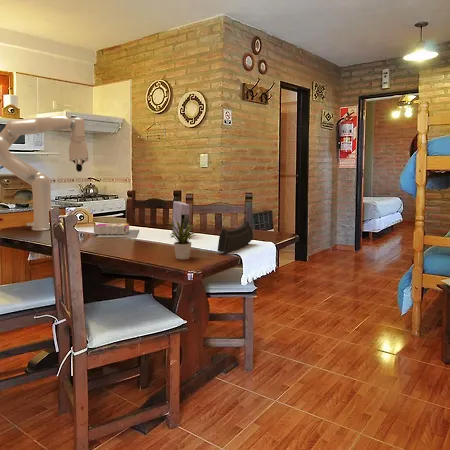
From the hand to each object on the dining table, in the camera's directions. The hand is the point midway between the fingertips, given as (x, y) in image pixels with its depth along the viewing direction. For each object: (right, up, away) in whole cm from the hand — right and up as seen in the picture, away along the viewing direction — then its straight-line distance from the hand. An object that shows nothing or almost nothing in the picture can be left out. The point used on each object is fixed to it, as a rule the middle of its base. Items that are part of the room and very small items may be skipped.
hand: (79, 171), depth 261 cm
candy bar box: (+16, -33, -22) cm, 43 cm away
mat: (+28, -36, -20) cm, 50 cm away
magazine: (+90, -42, -60) cm, 116 cm away
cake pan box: (+62, -37, -24) cm, 76 cm away
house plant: (+67, -45, -81) cm, 114 cm away
